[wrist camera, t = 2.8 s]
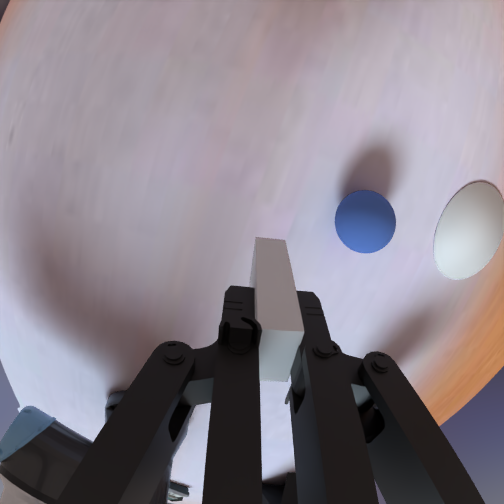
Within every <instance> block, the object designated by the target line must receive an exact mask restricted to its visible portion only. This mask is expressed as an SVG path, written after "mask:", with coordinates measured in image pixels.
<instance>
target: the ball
mask: <svg viewBox="0 0 504 504" xmlns="http://www.w3.org/2000/svg"><path fill="white" fill-rule="evenodd" d="M335 227H336V231H337V234H338V236H339V238H340V239H341V241H342V242H343V243H344V244H345V245H346V246H347V247H348V248H350V249H351V250H353V251H356V252H359V253H373V252H376V251H378V250H380V249H382V248H383V247H385V246H386V245H387V244H388V243H389V242H390V240H391V239H392V237H393V234H394V232H395V227H396V218H395V213H394V210H393V208H392V206H391V205H390V203H389V202H388V201H387V200H386V199H385V198H384V197H383V196H382V195H380V194H378V193H376V192H373V191H368V190H361V191H356V192H354V193H351V194H350V195H348V196H347V197H345V198H344V199H343V200H342V202H341V203H340V205H339V206H338V209H337V211H336V216H335Z"/></svg>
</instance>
